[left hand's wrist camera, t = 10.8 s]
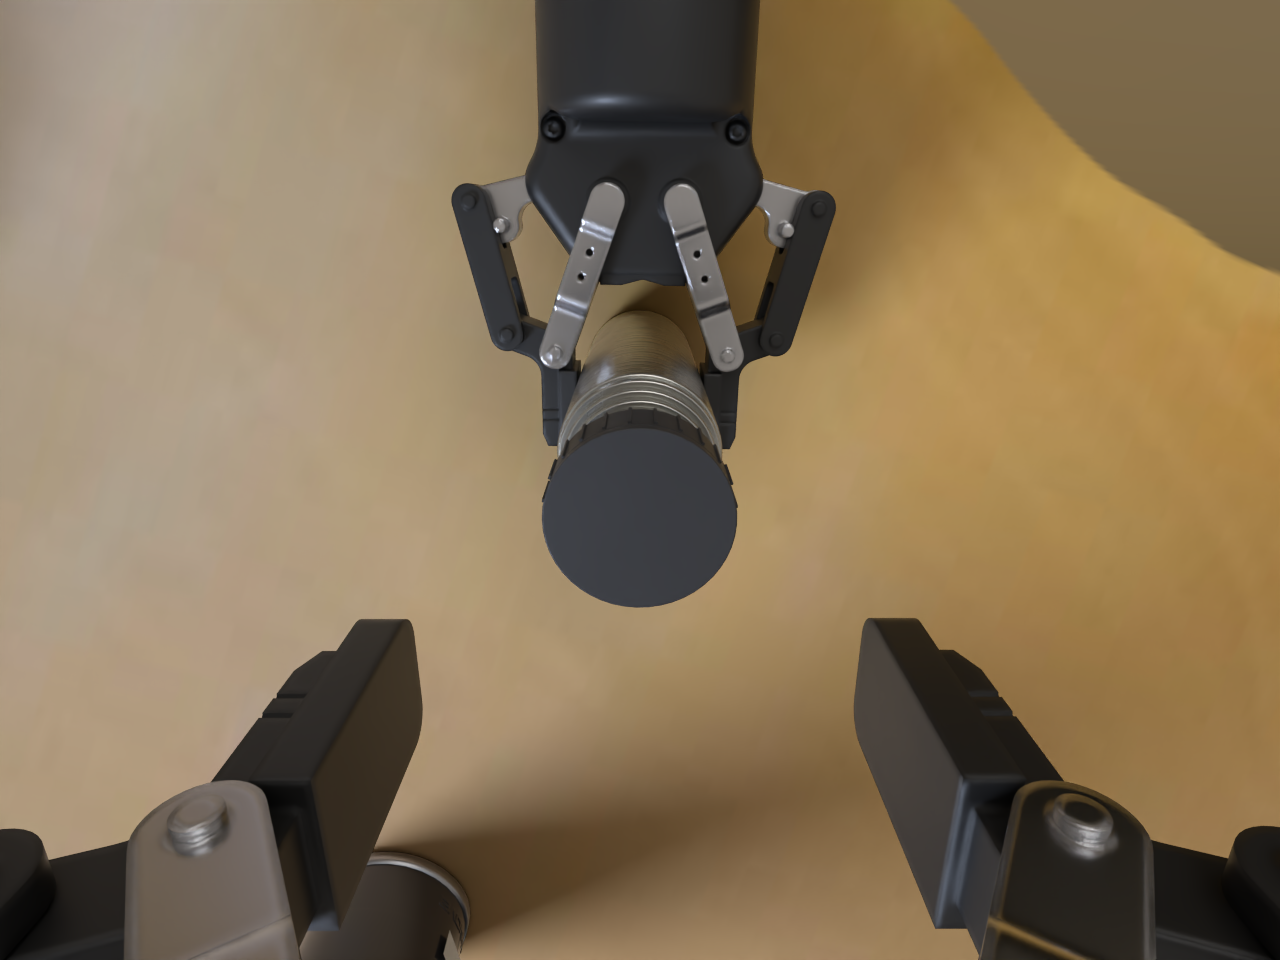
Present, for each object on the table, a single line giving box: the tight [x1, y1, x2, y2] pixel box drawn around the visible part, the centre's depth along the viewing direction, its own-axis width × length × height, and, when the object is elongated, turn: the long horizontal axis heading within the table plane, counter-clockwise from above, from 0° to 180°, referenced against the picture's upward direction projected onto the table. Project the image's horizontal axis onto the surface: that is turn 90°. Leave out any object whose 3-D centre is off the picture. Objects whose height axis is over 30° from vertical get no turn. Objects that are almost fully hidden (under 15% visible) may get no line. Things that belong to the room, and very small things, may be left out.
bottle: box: [557, 310, 722, 459], centre depth 26 cm, size 5×5×19 cm
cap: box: [542, 407, 738, 607], centre depth 18 cm, size 5×5×2 cm
